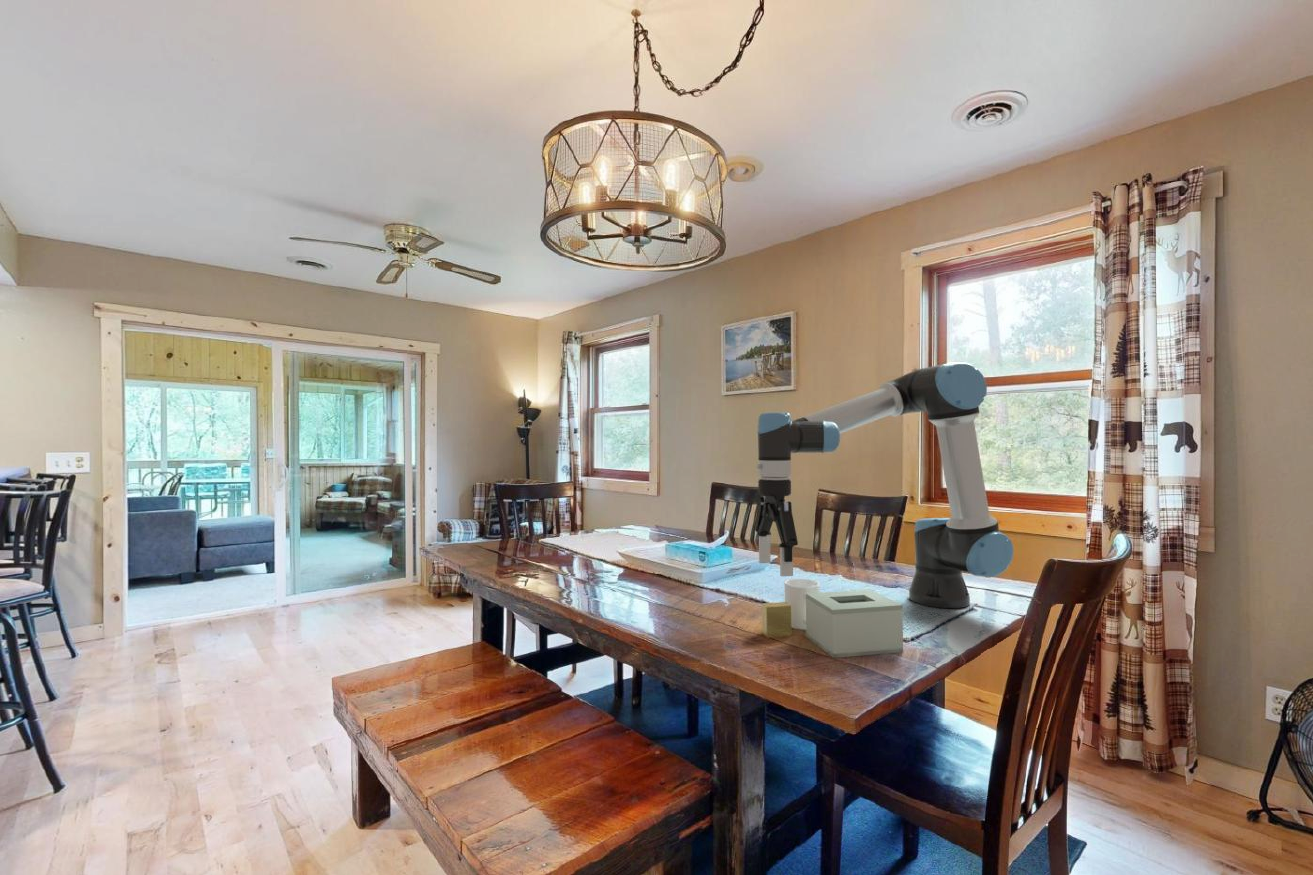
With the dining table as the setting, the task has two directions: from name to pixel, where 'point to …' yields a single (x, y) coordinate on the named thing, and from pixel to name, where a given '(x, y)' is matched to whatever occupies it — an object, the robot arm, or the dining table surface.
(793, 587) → the mug
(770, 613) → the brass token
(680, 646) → the dining table surface
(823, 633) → the box
